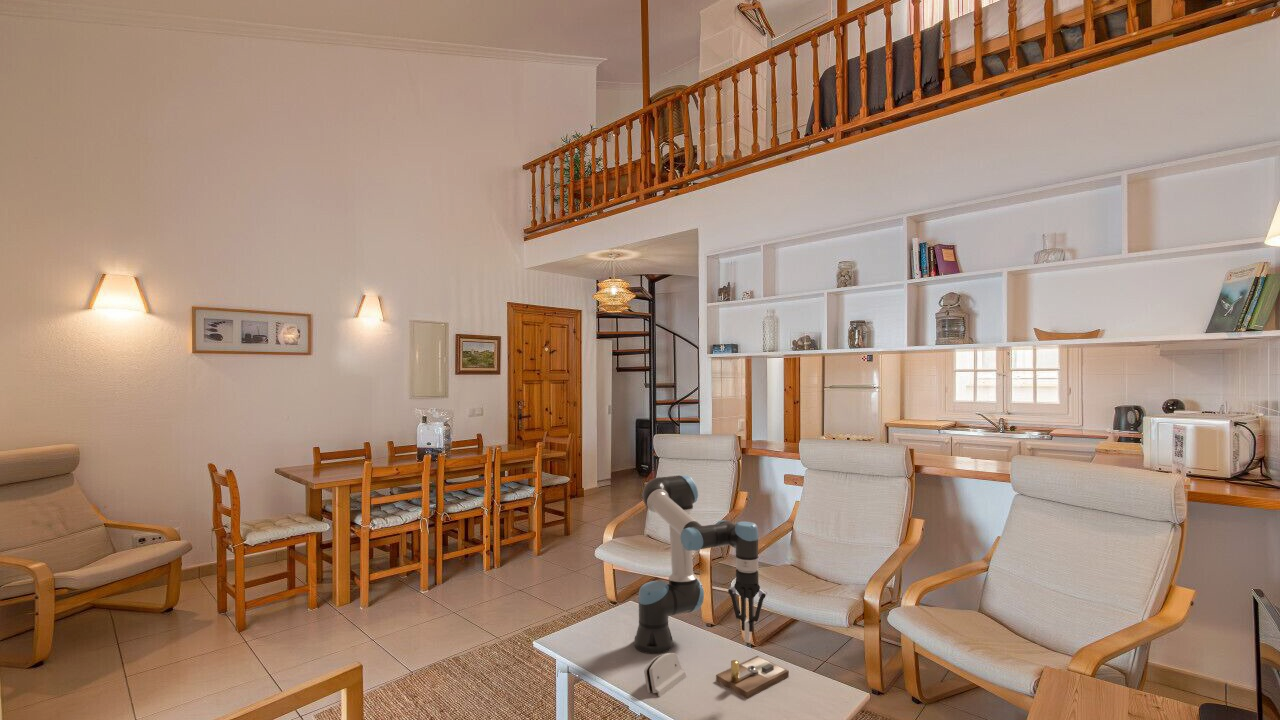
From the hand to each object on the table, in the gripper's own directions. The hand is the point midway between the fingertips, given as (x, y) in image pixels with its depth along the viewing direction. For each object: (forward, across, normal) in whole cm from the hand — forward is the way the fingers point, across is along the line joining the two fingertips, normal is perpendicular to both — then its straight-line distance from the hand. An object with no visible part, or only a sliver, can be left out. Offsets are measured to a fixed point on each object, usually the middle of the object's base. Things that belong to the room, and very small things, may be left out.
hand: (747, 640), depth 194 cm
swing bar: (+15, -2, +5) cm, 16 cm away
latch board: (+17, 0, +9) cm, 19 cm away
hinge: (+17, -28, -5) cm, 33 cm away
